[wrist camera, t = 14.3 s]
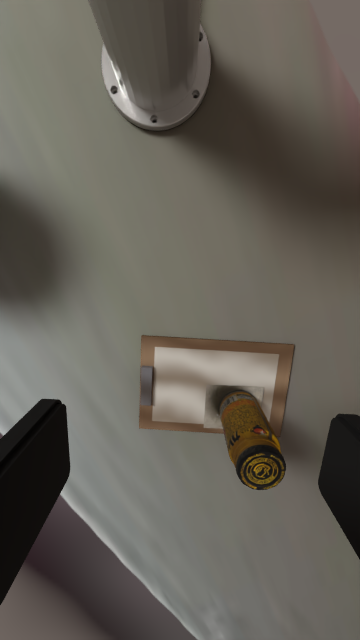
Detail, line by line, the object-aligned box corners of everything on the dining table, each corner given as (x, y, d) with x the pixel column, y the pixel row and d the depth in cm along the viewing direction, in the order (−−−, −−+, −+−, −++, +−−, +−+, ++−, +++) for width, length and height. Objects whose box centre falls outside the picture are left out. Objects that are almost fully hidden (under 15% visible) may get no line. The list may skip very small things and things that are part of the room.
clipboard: (141, 335, 36) (140, 337, 35) (293, 344, 36) (296, 346, 35) (139, 426, 40) (138, 431, 38) (278, 435, 39) (281, 440, 38)
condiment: (258, 429, 39) (290, 500, 27) (203, 426, 39) (211, 496, 27) (263, 386, 37) (299, 441, 25) (206, 383, 37) (215, 437, 26)
